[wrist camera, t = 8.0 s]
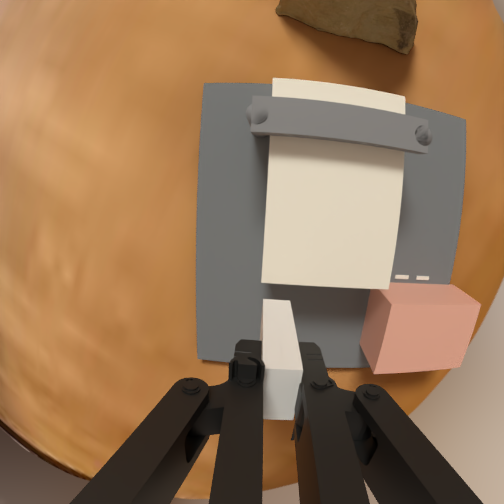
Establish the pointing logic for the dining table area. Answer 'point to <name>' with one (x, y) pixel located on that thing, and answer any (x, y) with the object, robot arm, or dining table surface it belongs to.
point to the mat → (253, 226)
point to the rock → (359, 19)
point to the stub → (417, 327)
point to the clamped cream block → (333, 181)
